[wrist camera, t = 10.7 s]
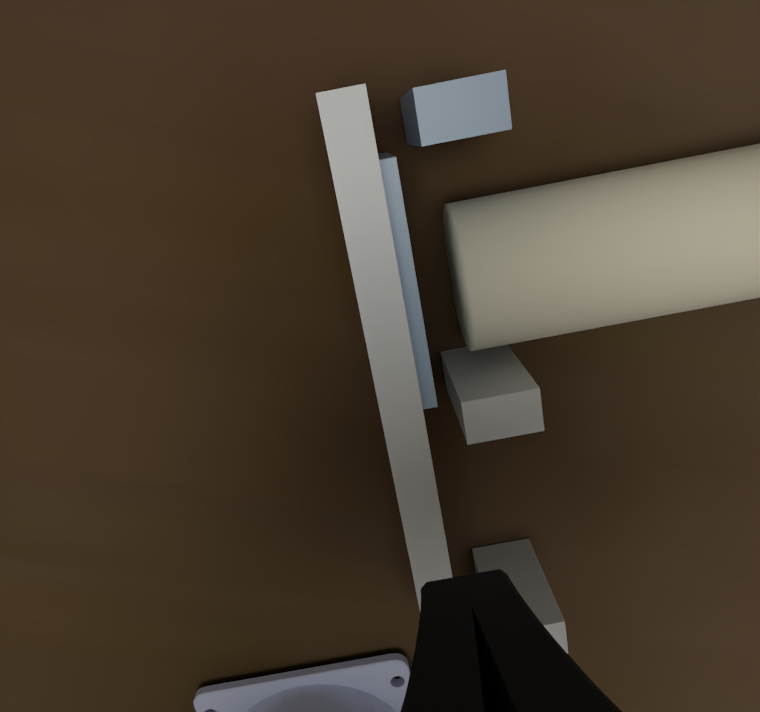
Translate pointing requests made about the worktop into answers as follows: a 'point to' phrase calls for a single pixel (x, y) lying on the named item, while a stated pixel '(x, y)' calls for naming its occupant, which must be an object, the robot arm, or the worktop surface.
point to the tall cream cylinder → (605, 248)
